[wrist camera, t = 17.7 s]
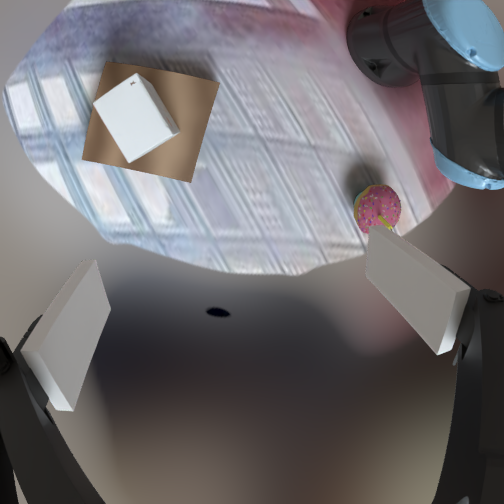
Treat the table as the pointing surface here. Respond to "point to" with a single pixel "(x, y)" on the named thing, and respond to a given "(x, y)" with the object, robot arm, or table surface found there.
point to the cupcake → (377, 207)
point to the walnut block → (179, 107)
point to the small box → (135, 117)
